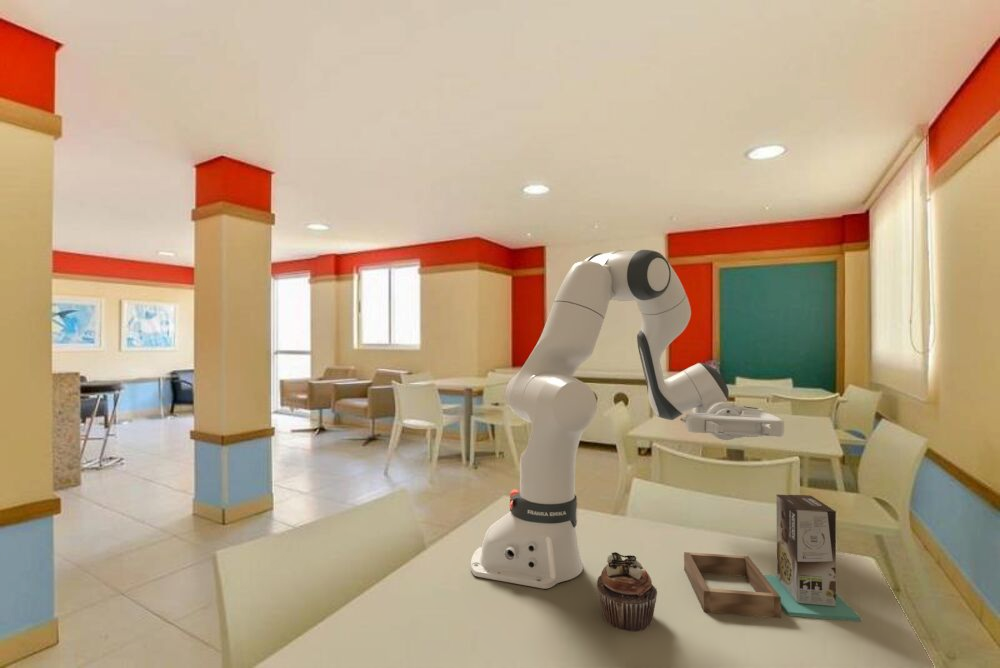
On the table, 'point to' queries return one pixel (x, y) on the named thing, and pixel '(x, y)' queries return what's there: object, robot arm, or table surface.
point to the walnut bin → (731, 601)
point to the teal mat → (811, 605)
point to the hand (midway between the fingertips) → (743, 430)
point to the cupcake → (626, 593)
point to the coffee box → (806, 549)
